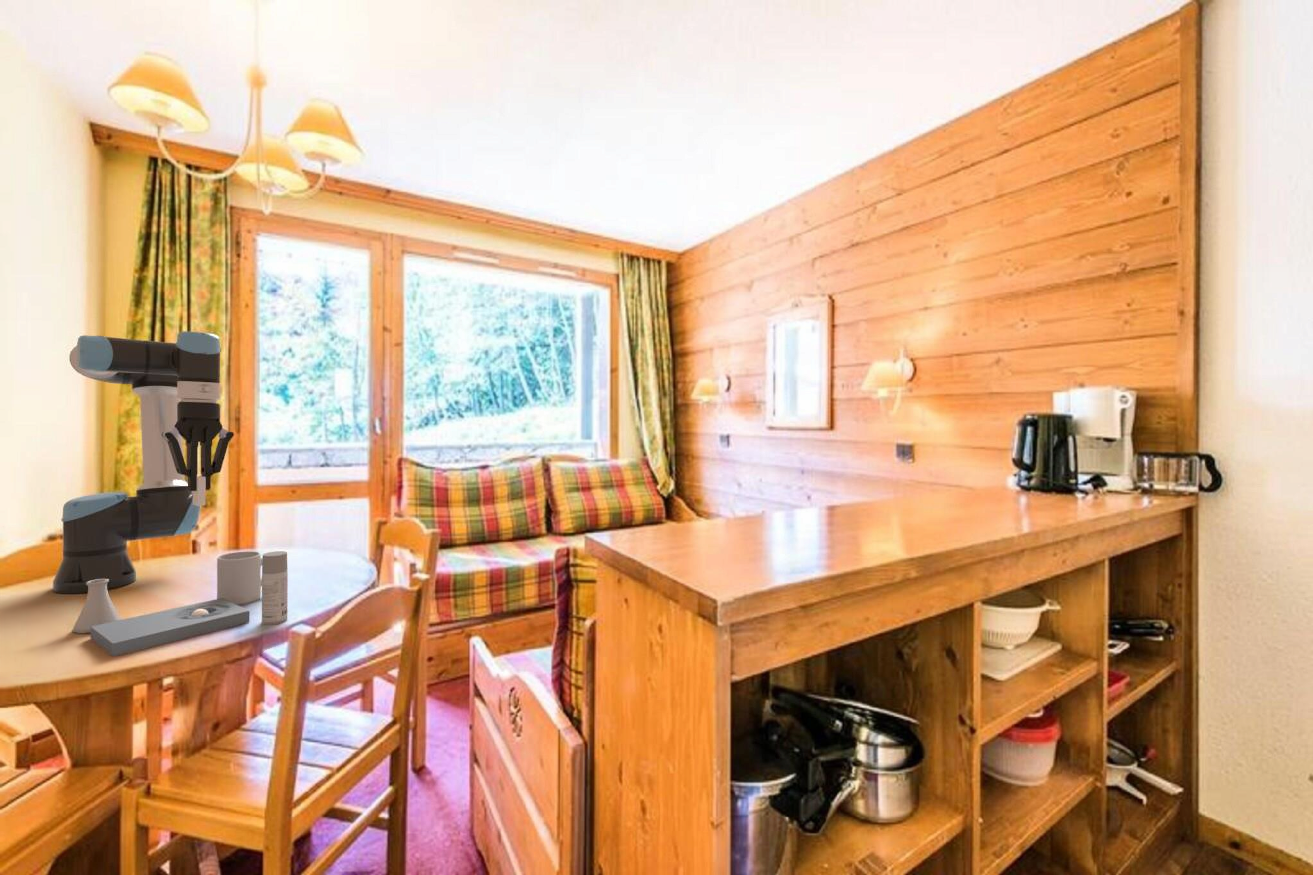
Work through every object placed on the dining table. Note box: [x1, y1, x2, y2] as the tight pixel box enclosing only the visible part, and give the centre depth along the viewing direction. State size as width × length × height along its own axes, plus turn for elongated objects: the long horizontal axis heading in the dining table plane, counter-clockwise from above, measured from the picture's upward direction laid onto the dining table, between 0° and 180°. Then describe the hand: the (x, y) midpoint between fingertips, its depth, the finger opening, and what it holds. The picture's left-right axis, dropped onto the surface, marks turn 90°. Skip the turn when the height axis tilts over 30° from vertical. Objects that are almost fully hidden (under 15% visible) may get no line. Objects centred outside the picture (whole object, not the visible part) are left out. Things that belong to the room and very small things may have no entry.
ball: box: [191, 609, 209, 615], centre depth 120 cm, size 3×3×3 cm
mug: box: [216, 550, 263, 606], centre depth 137 cm, size 12×8×11 cm
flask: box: [71, 579, 123, 634], centre depth 117 cm, size 7×7×10 cm
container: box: [261, 550, 289, 626], centre depth 123 cm, size 5×5×15 cm
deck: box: [90, 598, 250, 658], centre depth 117 cm, size 14×22×2 cm, turn 147°
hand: (199, 504), depth 127 cm, fingers closed
